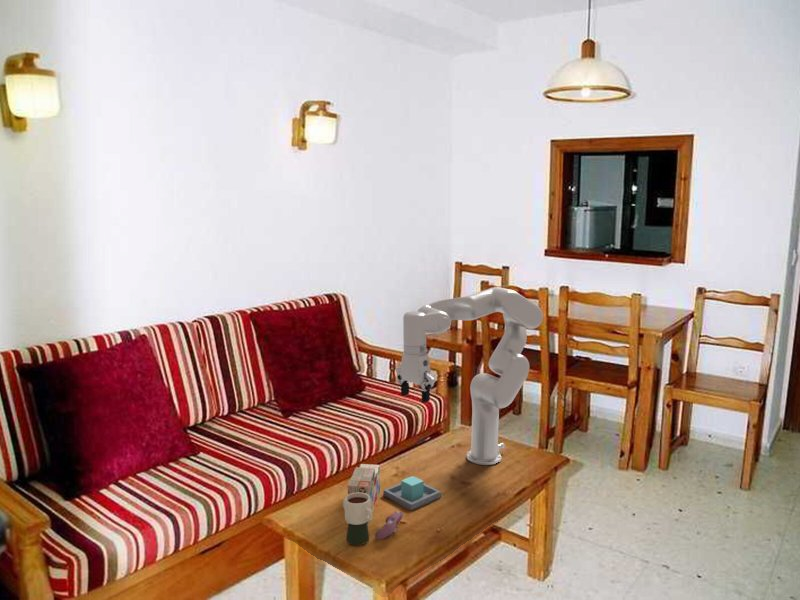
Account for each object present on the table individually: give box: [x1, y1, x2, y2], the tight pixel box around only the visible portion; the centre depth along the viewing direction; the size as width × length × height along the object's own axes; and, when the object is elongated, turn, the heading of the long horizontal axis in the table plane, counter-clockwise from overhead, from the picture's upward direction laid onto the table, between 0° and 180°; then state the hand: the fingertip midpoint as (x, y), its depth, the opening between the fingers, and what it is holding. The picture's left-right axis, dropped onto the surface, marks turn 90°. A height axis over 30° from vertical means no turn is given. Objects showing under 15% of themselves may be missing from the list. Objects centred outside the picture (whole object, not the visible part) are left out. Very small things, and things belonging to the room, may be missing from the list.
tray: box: [382, 482, 442, 512], centre depth 208 cm, size 13×13×2 cm
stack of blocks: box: [347, 463, 381, 525], centre depth 200 cm, size 21×6×12 cm, turn 173°
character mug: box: [342, 492, 373, 546], centre depth 181 cm, size 11×7×13 cm, turn 49°
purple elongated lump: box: [374, 510, 404, 540], centre depth 186 cm, size 10×5×7 cm, turn 161°
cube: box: [400, 475, 425, 501], centre depth 208 cm, size 5×5×5 cm
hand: (415, 398), depth 219 cm, fingers open, 9 cm apart
